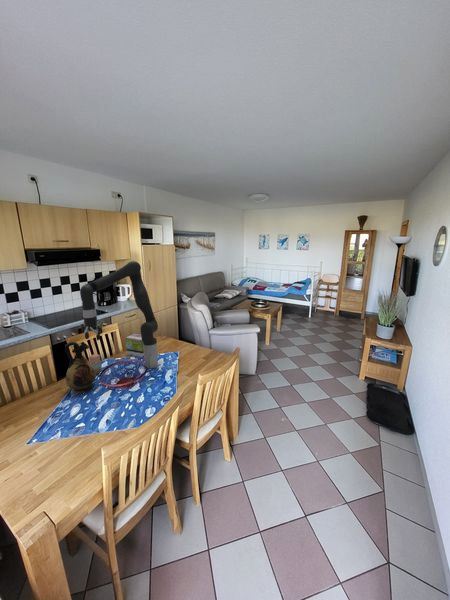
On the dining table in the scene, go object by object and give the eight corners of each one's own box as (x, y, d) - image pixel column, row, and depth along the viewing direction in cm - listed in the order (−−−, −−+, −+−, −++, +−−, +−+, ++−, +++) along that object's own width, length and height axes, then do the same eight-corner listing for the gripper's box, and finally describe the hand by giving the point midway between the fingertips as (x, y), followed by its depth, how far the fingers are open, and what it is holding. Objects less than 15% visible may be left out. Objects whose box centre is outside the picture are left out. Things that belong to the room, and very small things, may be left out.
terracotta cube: (100, 360, 164) (99, 354, 163) (95, 364, 160) (94, 357, 159) (95, 360, 165) (94, 353, 164) (89, 363, 161) (89, 356, 160)
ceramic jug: (98, 379, 156) (93, 335, 149) (95, 392, 142) (89, 345, 135) (67, 384, 150) (61, 339, 143) (61, 399, 136) (53, 349, 129)
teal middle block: (101, 366, 164) (100, 361, 163) (94, 370, 160) (93, 364, 159) (97, 364, 167) (96, 359, 166) (89, 367, 163) (89, 362, 162)
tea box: (126, 355, 191) (124, 337, 188) (134, 350, 200) (133, 333, 197) (142, 357, 187) (141, 339, 183) (150, 352, 196) (149, 335, 193)
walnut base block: (101, 373, 164) (101, 367, 163) (92, 375, 161) (92, 370, 160) (99, 369, 168) (99, 364, 167) (91, 372, 165) (90, 367, 164)
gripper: (103, 315, 158) (106, 338, 161) (85, 313, 161) (88, 336, 164) (94, 318, 150) (97, 342, 154) (76, 316, 154) (79, 340, 157)
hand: (92, 339), depth 159 cm, fingers open, 8 cm apart
